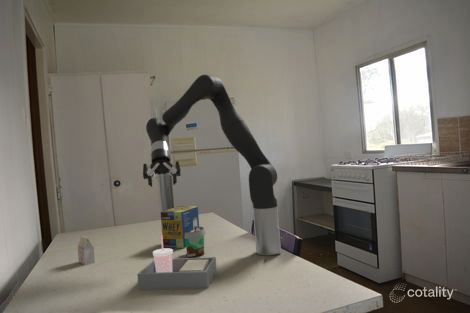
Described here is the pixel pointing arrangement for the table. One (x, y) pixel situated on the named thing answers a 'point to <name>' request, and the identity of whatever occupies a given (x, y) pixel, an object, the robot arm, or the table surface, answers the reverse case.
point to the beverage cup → (163, 259)
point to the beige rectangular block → (195, 265)
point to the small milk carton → (85, 251)
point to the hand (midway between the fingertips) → (162, 184)
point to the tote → (177, 276)
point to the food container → (195, 242)
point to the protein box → (178, 225)
